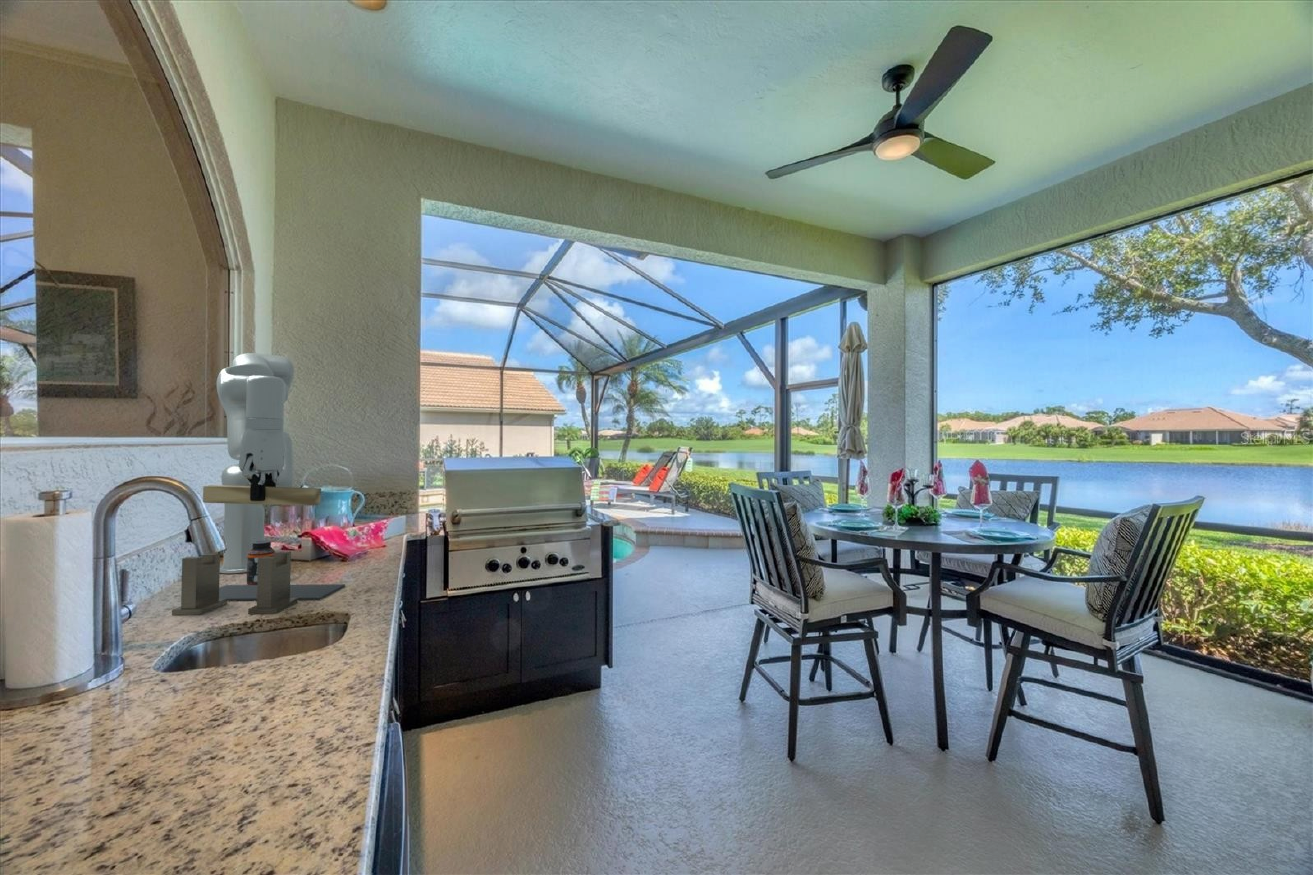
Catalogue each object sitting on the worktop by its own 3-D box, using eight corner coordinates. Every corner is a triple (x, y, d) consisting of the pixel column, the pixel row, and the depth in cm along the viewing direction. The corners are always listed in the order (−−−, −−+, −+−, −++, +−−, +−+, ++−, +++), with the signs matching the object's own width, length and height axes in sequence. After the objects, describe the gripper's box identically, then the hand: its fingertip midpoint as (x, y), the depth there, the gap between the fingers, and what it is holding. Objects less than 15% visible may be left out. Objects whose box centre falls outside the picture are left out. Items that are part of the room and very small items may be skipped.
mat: (226, 587, 137) (226, 585, 137) (344, 586, 139) (344, 584, 139) (189, 601, 125) (189, 598, 125) (319, 600, 127) (319, 597, 127)
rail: (212, 501, 129) (213, 485, 129) (320, 504, 131) (321, 488, 131) (202, 502, 126) (203, 486, 126) (313, 505, 128) (314, 489, 128)
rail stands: (200, 603, 123) (201, 551, 123) (297, 602, 125) (298, 551, 125) (171, 615, 115) (173, 558, 115) (276, 614, 117) (277, 558, 117)
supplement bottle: (262, 586, 138) (263, 544, 138) (240, 586, 138) (241, 543, 139) (279, 580, 144) (280, 539, 144) (258, 580, 144) (259, 539, 145)
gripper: (271, 425, 137) (269, 495, 137) (223, 424, 120) (221, 504, 120) (301, 426, 137) (299, 496, 137) (257, 425, 121) (255, 504, 121)
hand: (262, 499), depth 129 cm, fingers closed on rail, 3 cm apart
